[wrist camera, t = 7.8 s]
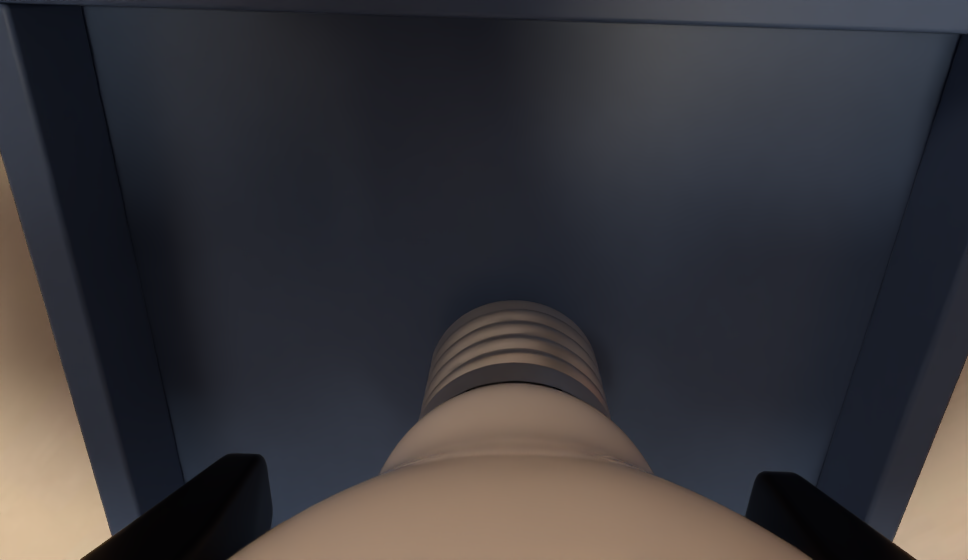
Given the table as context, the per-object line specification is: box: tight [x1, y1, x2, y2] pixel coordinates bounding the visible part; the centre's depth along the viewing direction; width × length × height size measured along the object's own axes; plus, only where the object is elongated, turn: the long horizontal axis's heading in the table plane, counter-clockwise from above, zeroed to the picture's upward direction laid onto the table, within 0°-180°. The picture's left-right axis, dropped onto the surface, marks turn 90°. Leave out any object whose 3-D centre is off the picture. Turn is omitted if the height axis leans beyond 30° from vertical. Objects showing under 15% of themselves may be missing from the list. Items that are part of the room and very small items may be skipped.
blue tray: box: [0, 0, 968, 542], centre depth 10 cm, size 11×13×2 cm
